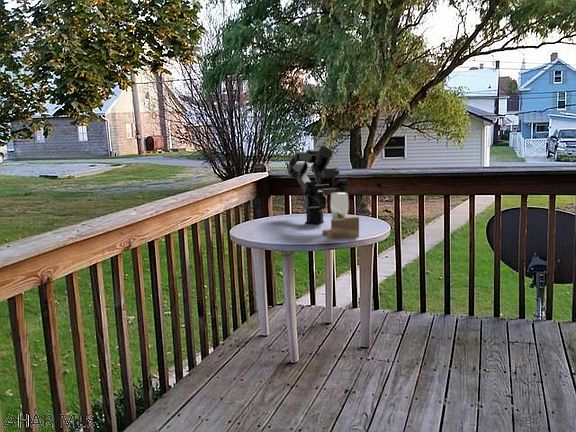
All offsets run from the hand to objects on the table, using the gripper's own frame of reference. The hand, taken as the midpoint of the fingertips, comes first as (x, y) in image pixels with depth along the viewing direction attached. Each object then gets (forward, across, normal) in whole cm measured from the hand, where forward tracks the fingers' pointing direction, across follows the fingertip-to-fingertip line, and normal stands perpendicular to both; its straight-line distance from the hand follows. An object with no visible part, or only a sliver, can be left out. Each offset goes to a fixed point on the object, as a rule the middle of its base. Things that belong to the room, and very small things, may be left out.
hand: (331, 203), depth 226 cm
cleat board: (+13, 0, +3) cm, 14 cm away
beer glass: (+12, 0, +2) cm, 13 cm away
